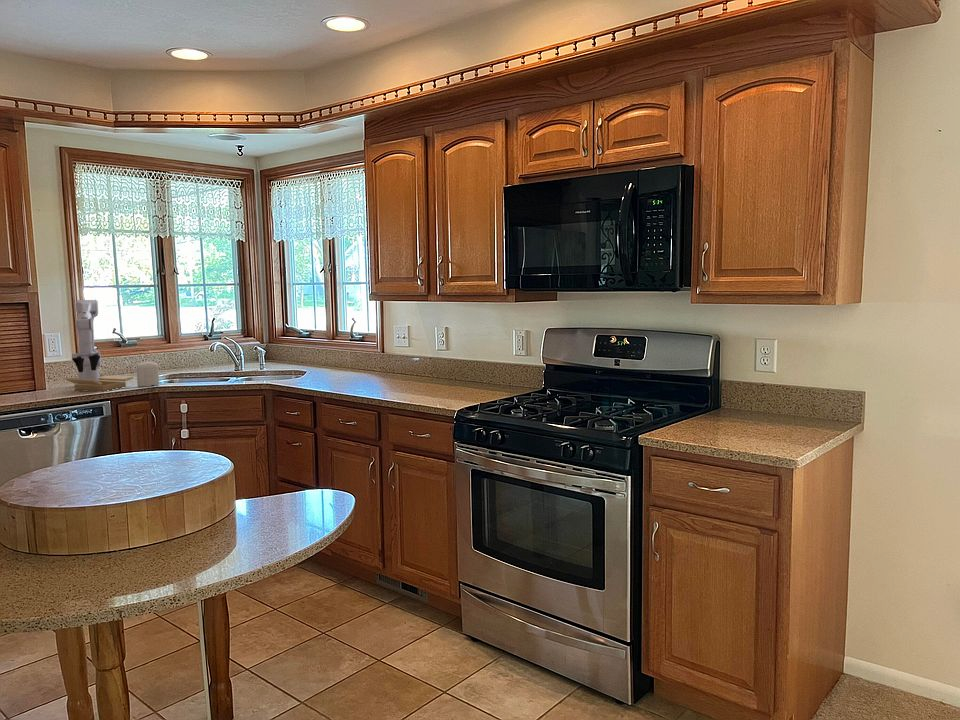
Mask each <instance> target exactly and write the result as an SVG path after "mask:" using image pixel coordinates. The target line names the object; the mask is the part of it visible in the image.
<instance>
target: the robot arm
mask: <svg viewBox="0 0 960 720" xmlns="http://www.w3.org/2000/svg"><path fill="white" fill-rule="evenodd" d="M75 311H76V314H77V316H78V317H77V319H76V323H75V325H76V332H77V335H78V337H77V338H78V349H79V350H78V351H79V352H76V353H71V360H72V361H73V363H74V364H75V366H76V369H77V371H78V373H77V374H78V378H83V379H95V380H97V381H101V380H98V378H100V369H99V368H101V367H102V356H101V355H102V354H101V352H100V350H97V349H96V348H95V333H94V320H95V318H96V317H98V315H99V303H98V300H97V299H80V300H79V299H76V300H75Z"/></svg>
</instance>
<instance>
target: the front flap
mask: <svg viewBox="0 0 960 720" xmlns="http://www.w3.org/2000/svg"><path fill="white" fill-rule="evenodd" d="M65 380H66V381H68V382H70V383H72V384H73V385H74V384H93V385H102V383H101V382H99V381H97V380H95V379H83V378H79V377H66V378H65Z"/></svg>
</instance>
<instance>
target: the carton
mask: <svg viewBox="0 0 960 720" xmlns="http://www.w3.org/2000/svg"><path fill="white" fill-rule="evenodd" d="M99 382H101V383H102V385H93V384H74V383H73V386H74V391H77V390H88V391H87V392H96V391H106V392H108V391H107V390H111V391H113V390H112V389H116V388H122V387H126V388H127V385H126V381H109V380H100V381H99ZM122 389H123V388H122Z"/></svg>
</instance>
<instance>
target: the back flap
mask: <svg viewBox="0 0 960 720" xmlns="http://www.w3.org/2000/svg"><path fill="white" fill-rule="evenodd" d="M132 379H134V376H132V375H131V376H129V375H107V374H106V375H104V376H99V378H98V380H100V381H115V382H126V381H130V380H132Z"/></svg>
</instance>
